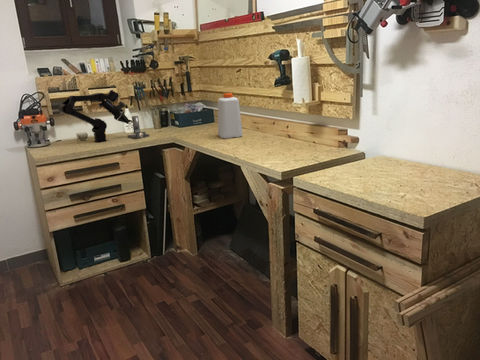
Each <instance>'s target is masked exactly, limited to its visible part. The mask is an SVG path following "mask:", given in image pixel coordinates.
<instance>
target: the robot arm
mask: <svg viewBox="0 0 480 360" xmlns="http://www.w3.org/2000/svg"><path fill="white" fill-rule="evenodd" d="M119 97H120V95H119V94H118V93H117V92H116V91H114V90H113V89H110V90H109V92H108V93H107V94H105V93H104V92H96V93H95V92H94V93H91V94H85V95H83V94H82V95H81V94H80V95H69V96H68V97H67V98H66V99H65V100H64V101H62V103H61V104H59V106H58V108H57V110H58V112H59V113H60V114H63V115H67V116H71V117H73V118H76V119H79V120H80V121H82V122H85V123H87V124H90V125H91V126H92V129H91V131H92V133H93V136H94V140H93V142H95V143H103V142H107V141H108V140H107V135H106V129H107V126H108V125H107V124H108V123H107V122H106V121H105V120H103V119H101V118H98V117H97V118H96V117H95V118H92V117H90V116H88V115H87V114H86V115H85V114H84V113H82V112H80V111H78V110H76V109H74V107H75V104H76V102H77V103H79V102H90V101H91V102H100V103H98V108H99V109H101V108H103V109H105V110H106V111H108V113H110V114H111V115H112V116H113V118H114V120H115V121H118V122H121V123H125V124H129V123H130V119H129V118H128V117H127V115H126V114H125V111H124V109H123V108H125V107H127V105H126V104H125V102H124V101H119V102H118V104H117V105H116V104H114V103H115V102H116V101H117V100H118V98H119Z"/></svg>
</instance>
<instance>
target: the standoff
mask: <svg viewBox="0 0 480 360" xmlns="http://www.w3.org/2000/svg"><path fill="white" fill-rule="evenodd" d="M131 121H132V128H133V133H134V134H135V133H139V132H141V127H140V122H139V121H140V120H139V115H133V116H131Z"/></svg>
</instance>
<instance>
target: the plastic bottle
mask: <svg viewBox="0 0 480 360" xmlns="http://www.w3.org/2000/svg"><path fill="white" fill-rule="evenodd" d="M233 95H234V94H233V93H231V92H229V93H228V92H227V93H223V97H219V98H218V100H217V135H218V136H219V137H220V138H221V139H232V138H233V137H235V138H241V137H242V136H243V135H244V133H243V126H242V117H241V109H240V100H239V98H237V97H236V96H235V97H234V96H233Z"/></svg>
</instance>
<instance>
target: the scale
mask: <svg viewBox="0 0 480 360" xmlns="http://www.w3.org/2000/svg"><path fill="white" fill-rule="evenodd" d="M135 135H136V136H133V135H131V134H127V135H126V136H127V138H129V139H133V140H139V139H140V140H141V139H145V138H147V137H150V134H149V133H146V131H140V132H139V133H135Z"/></svg>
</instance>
